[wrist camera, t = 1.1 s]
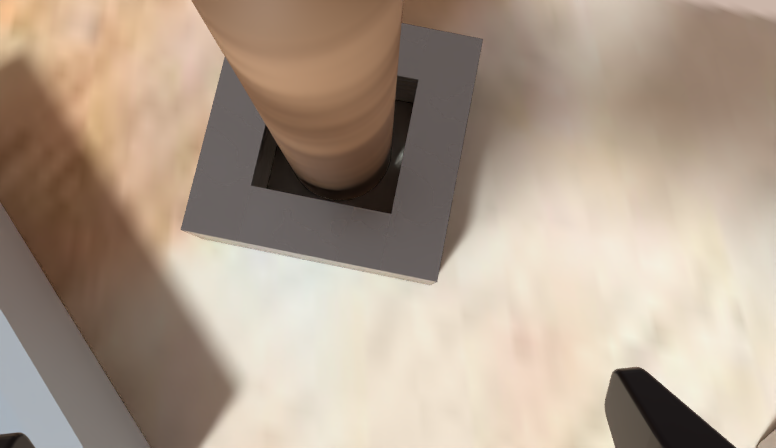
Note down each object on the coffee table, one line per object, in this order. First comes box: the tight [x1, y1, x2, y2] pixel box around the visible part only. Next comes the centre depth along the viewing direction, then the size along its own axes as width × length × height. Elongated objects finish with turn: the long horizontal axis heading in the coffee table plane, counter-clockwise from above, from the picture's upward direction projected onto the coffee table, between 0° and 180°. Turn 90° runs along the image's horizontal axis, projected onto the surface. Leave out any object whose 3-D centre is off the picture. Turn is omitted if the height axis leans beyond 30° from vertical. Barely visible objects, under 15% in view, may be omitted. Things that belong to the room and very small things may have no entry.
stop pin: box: [192, 0, 403, 200], centre depth 17 cm, size 4×4×14 cm
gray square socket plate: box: [181, 23, 483, 285], centre depth 23 cm, size 9×9×2 cm
